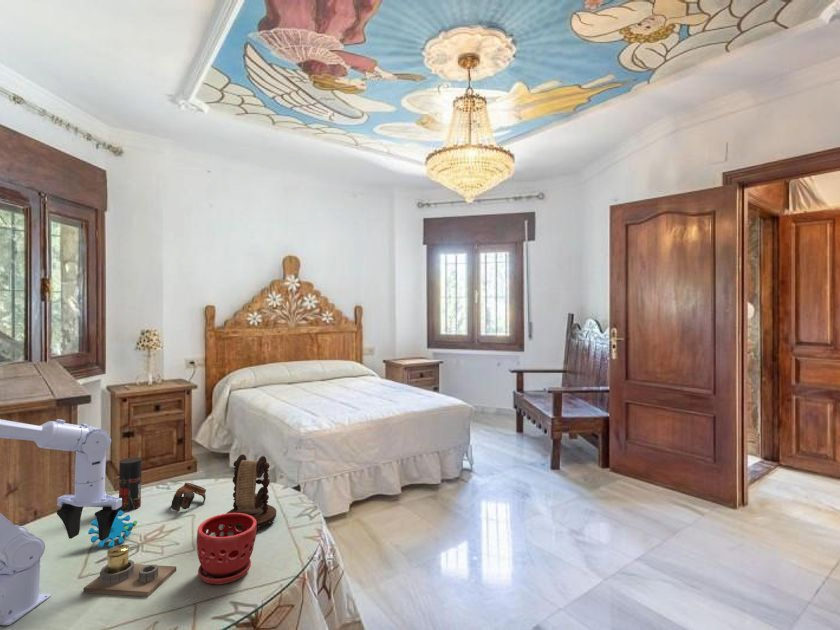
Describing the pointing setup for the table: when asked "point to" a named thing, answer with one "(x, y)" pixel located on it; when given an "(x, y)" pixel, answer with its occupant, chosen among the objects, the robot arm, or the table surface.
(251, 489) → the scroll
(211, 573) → the plant pot
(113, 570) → the brass nipple
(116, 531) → the gear
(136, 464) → the deodorant
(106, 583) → the manifold board
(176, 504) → the brown leather bracelet
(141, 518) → the table surface
